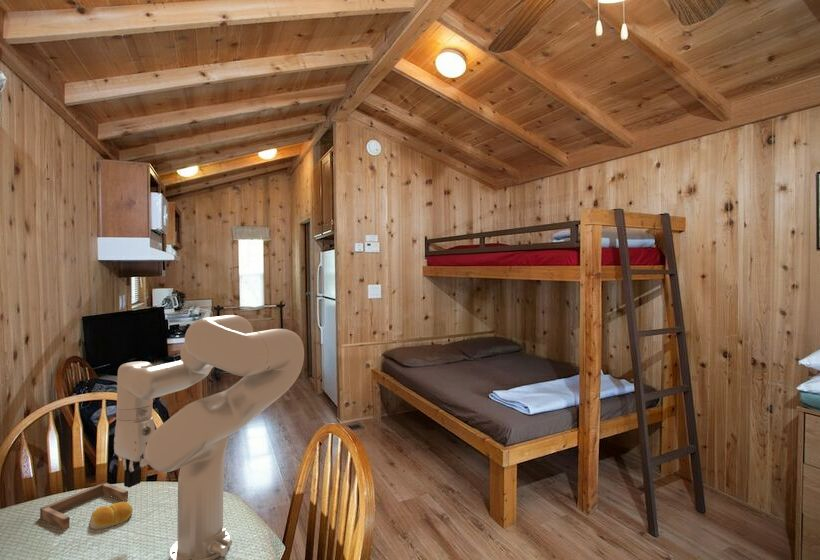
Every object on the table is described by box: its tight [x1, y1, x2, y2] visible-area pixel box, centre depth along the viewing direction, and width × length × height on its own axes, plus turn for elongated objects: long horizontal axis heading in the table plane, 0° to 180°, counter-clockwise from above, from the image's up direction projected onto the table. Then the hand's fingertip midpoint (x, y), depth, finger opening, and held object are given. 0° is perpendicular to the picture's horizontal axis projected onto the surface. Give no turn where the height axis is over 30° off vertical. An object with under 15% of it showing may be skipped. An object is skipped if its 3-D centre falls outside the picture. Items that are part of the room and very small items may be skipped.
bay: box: [39, 482, 129, 530], centre depth 112 cm, size 11×15×2 cm
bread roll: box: [89, 501, 133, 530], centre depth 108 cm, size 8×9×4 cm
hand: (132, 484), depth 104 cm, fingers closed
